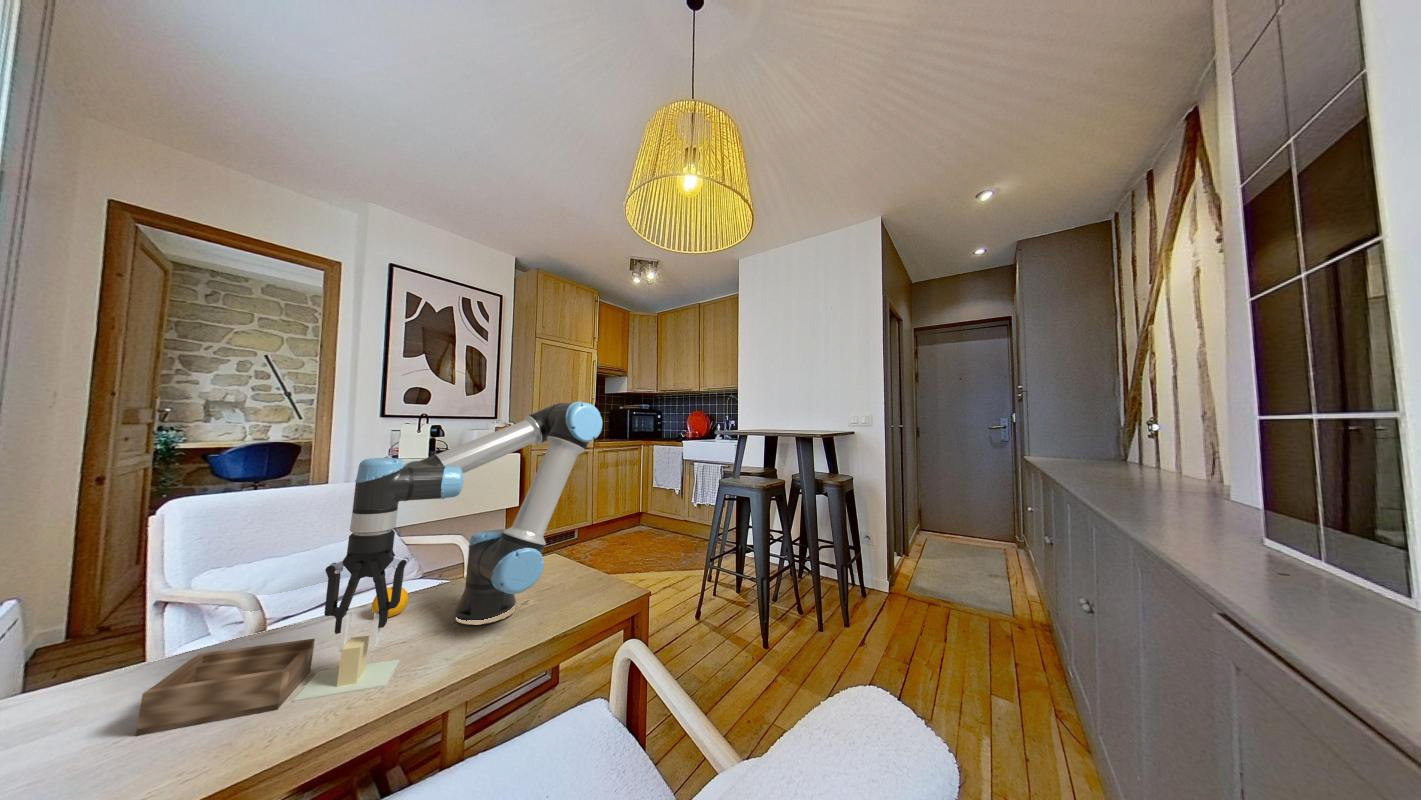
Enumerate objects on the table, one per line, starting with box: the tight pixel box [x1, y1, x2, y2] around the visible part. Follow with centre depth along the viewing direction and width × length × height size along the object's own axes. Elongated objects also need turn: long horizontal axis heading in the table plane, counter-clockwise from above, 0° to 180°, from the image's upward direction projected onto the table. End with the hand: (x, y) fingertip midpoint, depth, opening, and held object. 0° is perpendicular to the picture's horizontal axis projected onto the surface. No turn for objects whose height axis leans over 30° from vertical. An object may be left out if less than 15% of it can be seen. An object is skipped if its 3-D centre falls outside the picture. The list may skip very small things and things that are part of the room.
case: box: [134, 638, 316, 737], centre depth 75 cm, size 17×13×6 cm
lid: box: [292, 635, 400, 703], centre depth 82 cm, size 14×10×8 cm
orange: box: [371, 586, 410, 618], centre depth 111 cm, size 8×8×8 cm
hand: (359, 645), depth 83 cm, fingers open, 4 cm apart
